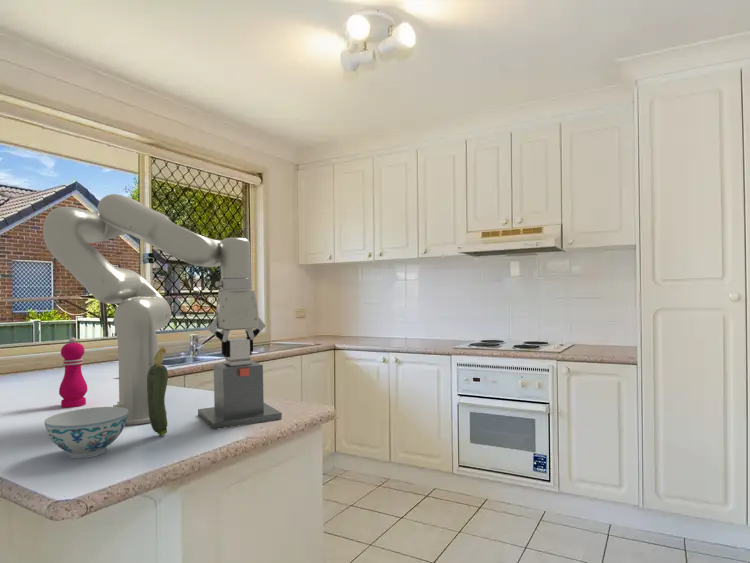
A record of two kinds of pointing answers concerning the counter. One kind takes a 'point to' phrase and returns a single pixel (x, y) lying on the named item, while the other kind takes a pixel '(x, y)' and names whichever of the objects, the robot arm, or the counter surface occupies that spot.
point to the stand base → (238, 397)
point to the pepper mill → (73, 376)
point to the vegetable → (157, 393)
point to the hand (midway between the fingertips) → (237, 355)
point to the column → (238, 352)
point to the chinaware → (86, 429)
